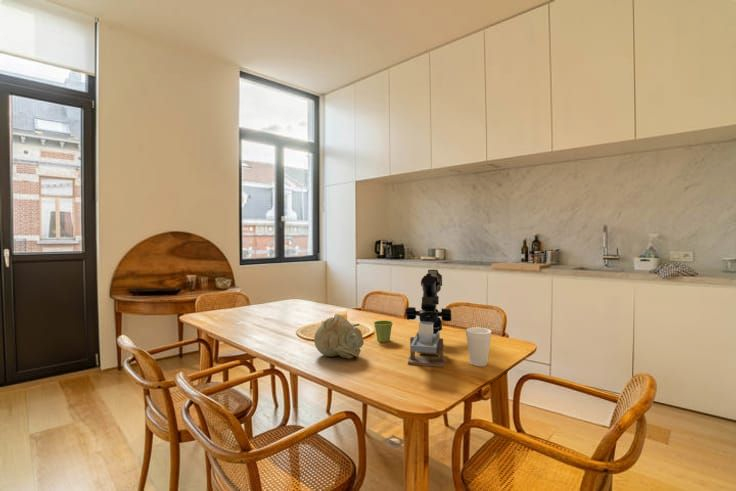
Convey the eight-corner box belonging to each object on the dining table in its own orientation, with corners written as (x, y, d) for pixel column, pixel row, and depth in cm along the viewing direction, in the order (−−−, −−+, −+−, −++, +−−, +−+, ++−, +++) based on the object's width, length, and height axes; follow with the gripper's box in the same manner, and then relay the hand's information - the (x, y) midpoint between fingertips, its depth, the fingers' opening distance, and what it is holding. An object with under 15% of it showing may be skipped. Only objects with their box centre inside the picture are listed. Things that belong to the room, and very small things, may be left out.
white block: (420, 339, 146) (420, 321, 146) (433, 339, 145) (433, 321, 145) (418, 342, 140) (418, 323, 140) (432, 343, 139) (432, 324, 139)
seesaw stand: (410, 357, 151) (410, 334, 151) (445, 360, 148) (445, 336, 147) (407, 364, 143) (407, 340, 143) (444, 367, 140) (444, 342, 140)
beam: (418, 349, 158) (418, 330, 158) (439, 350, 156) (439, 331, 156) (410, 368, 130) (410, 345, 131) (435, 370, 128) (435, 347, 129)
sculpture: (313, 368, 142) (361, 350, 140) (302, 320, 151) (346, 302, 149) (330, 371, 158) (372, 355, 156) (318, 327, 167) (359, 311, 165)
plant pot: (370, 342, 173) (370, 324, 173) (377, 337, 182) (377, 319, 182) (389, 344, 170) (389, 325, 169) (395, 338, 178) (395, 321, 178)
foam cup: (487, 369, 137) (487, 334, 137) (463, 364, 142) (463, 331, 142) (493, 361, 145) (493, 329, 145) (470, 357, 150) (470, 326, 150)
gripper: (406, 288, 156) (402, 320, 145) (451, 289, 151) (450, 322, 141) (408, 303, 164) (405, 334, 153) (451, 304, 159) (451, 337, 149)
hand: (427, 331), depth 149 cm, fingers closed
